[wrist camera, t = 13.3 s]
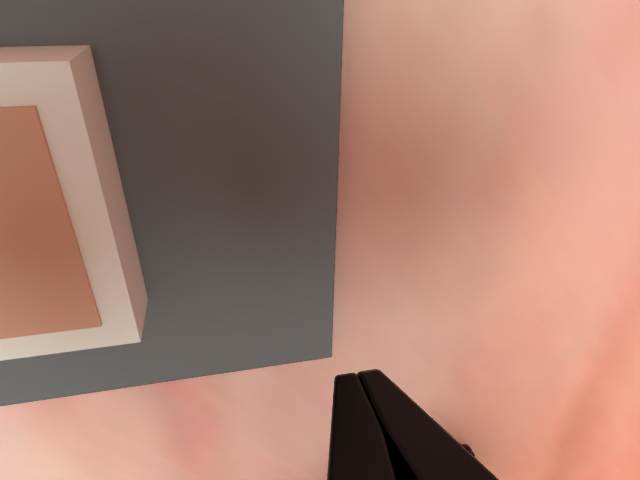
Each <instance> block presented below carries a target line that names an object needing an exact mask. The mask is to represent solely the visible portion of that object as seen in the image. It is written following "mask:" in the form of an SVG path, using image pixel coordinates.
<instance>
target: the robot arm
mask: <svg viewBox="0 0 640 480" xmlns="http://www.w3.org/2000/svg"><path fill="white" fill-rule="evenodd" d="M327 480H499V479H498V478H496V477H495V476H494V475H493V474H492V473H491V472H490V471H489V470H488V469H487V468H486V467H484V466H483V465H482V464H481V463H480V462H479V461H478V460H477V459H476V458H475V455H474V453H473V451H472V449H471V448H470V447H463V446H462V445H461V444H460V443H458V442H457V441H456V440H455V439H454V438H453V437H452V436H451V435H450V434H449V433H448V432H447V431H445V430H444V429H443V428H442V427H441V426H440V425H439V424H438V423H437V422H436V421H435V420H433V419H432V418H431V417H430V416H429V415H428V414H427V413H426V412H425V411H424V410H423V409H422V408H420V407H419V406H418V405H417V404H416V403H415V402H414V401H413V400H412V399H411V398H410V397H409V396H407V395H406V394H405V393H404V392H403V391H402V390H401V389H400V388H399V387H398V386H397V385H396V384H394V383H393V382H392V381H391V380H390V379H389V378H388V377H387V376H386V375H385V374H384V373H382V372H381V371H380V370H377V369H373V370H367V371H361V372H359V373H357V374H355V373H348V374H342V375H337V376H336V377H335V380H334V393H333V407H332V420H331V434H330V447H329V461H328V474H327Z"/></svg>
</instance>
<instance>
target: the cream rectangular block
mask: <svg viewBox="0 0 640 480" xmlns="http://www.w3.org/2000/svg"><path fill="white" fill-rule="evenodd" d="M147 301H148V297H147V292H146V288H145V283H144V279H143V275H142V270H141V266H140V262H139V257H138V253H137V249H136V244H135V240H134V235H133V231H132V227H131V222H130V218H129V214H128V209H127V205H126V201H125V196H124V192H123V187H122V183H121V179H120V174H119V170H118V166H117V161H116V157H115V153H114V148H113V144H112V139H111V135H110V131H109V126H108V122H107V118H106V113H105V109H104V105H103V100H102V96H101V91H100V87H99V83H98V78H97V74H96V70H95V65H94V61H93V57H92V52H91V48H90V45H72V46H22V47H0V361H3V360H10V359H18V358H25V357H33V356H40V355H48V354H55V353H63V352H70V351H78V350H86V349H93V348H101V347H108V346H116V345H123V344H131V343H138V342H141V338H142V332H143V326H144V320H145V314H146V307H147Z"/></svg>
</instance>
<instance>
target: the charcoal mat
mask: <svg viewBox="0 0 640 480" xmlns="http://www.w3.org/2000/svg"><path fill="white" fill-rule="evenodd" d="M343 8H344V0H0V47H22V46H72V45H90V48H91V52H92V57H93V61H94V65H95V70H96V74H97V78H98V83H99V87H100V91H101V96H102V100H103V105H104V109H105V113H106V118H107V122H108V126H109V131H110V135H111V139H112V144H113V148H114V153H115V157H116V161H117V166H118V170H119V174H120V179H121V183H122V187H123V192H124V196H125V201H126V205H127V209H128V214H129V218H130V222H131V227H132V231H133V235H134V240H135V244H136V249H137V253H138V257H139V262H140V266H141V270H142V275H143V279H144V283H145V288H146V292H147V297H148V301H147V307H146V314H145V320H144V326H143V332H142V338H141V342H138V343H131V344H123V345H116V346H108V347H101V348H93V349H86V350H78V351H70V352H63V353H55V354H48V355H40V356H33V357H25V358H18V359H10V360H3V361H0V406H5V405H12V404H19V403H26V402H32V401H39V400H46V399H52V398H59V397H66V396H73V395H79V394H86V393H93V392H100V391H106V390H113V389H120V388H127V387H133V386H140V385H147V384H154V383H160V382H167V381H174V380H180V379H187V378H194V377H201V376H207V375H214V374H221V373H228V372H234V371H241V370H248V369H255V368H261V367H268V366H275V365H281V364H288V363H295V362H302V361H308V360H315V359H322V358H329V357H332V329H333V300H334V271H335V242H336V213H337V183H338V154H339V125H340V96H341V67H342V38H343Z"/></svg>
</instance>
